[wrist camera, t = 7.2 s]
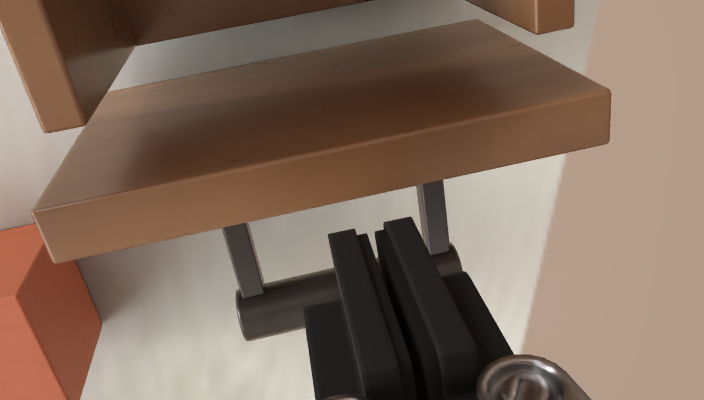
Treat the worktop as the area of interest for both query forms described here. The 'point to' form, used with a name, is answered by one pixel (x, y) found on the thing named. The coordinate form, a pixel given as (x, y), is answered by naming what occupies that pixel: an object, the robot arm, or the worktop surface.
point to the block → (42, 321)
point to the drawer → (283, 127)
